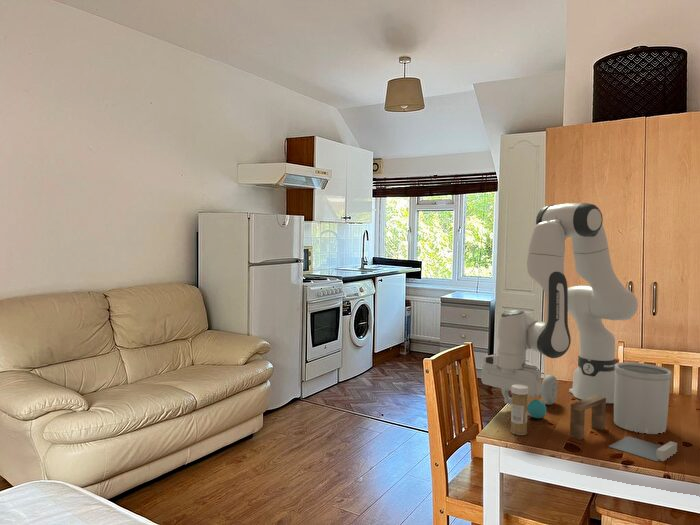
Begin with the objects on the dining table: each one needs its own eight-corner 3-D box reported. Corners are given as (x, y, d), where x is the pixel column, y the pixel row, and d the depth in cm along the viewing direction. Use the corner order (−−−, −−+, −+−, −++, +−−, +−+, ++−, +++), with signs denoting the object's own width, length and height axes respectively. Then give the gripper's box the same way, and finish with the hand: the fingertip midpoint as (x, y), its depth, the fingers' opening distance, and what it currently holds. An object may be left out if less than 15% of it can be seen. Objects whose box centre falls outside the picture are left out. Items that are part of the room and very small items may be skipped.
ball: (533, 413, 167) (533, 396, 167) (549, 418, 163) (550, 400, 163) (523, 417, 164) (524, 399, 163) (539, 422, 159) (540, 403, 159)
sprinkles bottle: (530, 434, 149) (531, 386, 149) (519, 437, 147) (521, 389, 146) (517, 429, 153) (518, 382, 153) (506, 432, 151) (508, 385, 150)
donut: (548, 399, 182) (549, 371, 182) (558, 401, 180) (559, 372, 180) (539, 406, 174) (540, 376, 174) (550, 408, 172) (550, 378, 172)
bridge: (569, 436, 148) (570, 404, 147) (594, 425, 157) (595, 395, 156) (580, 440, 145) (581, 406, 145) (604, 428, 155) (605, 397, 154)
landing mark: (627, 436, 148) (628, 436, 148) (675, 450, 139) (675, 449, 139) (608, 446, 141) (608, 446, 141) (657, 461, 131) (657, 461, 131)
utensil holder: (674, 426, 158) (676, 367, 157) (662, 439, 147) (665, 376, 146) (620, 414, 168) (622, 359, 167) (606, 426, 157) (608, 367, 156)
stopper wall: (670, 450, 139) (670, 441, 139) (676, 452, 138) (677, 443, 137) (656, 459, 133) (656, 449, 133) (663, 461, 132) (663, 451, 132)
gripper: (546, 366, 164) (544, 410, 164) (490, 354, 179) (489, 394, 180) (535, 368, 160) (533, 414, 160) (479, 356, 175) (477, 398, 176)
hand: (509, 403), depth 170 cm, fingers closed
